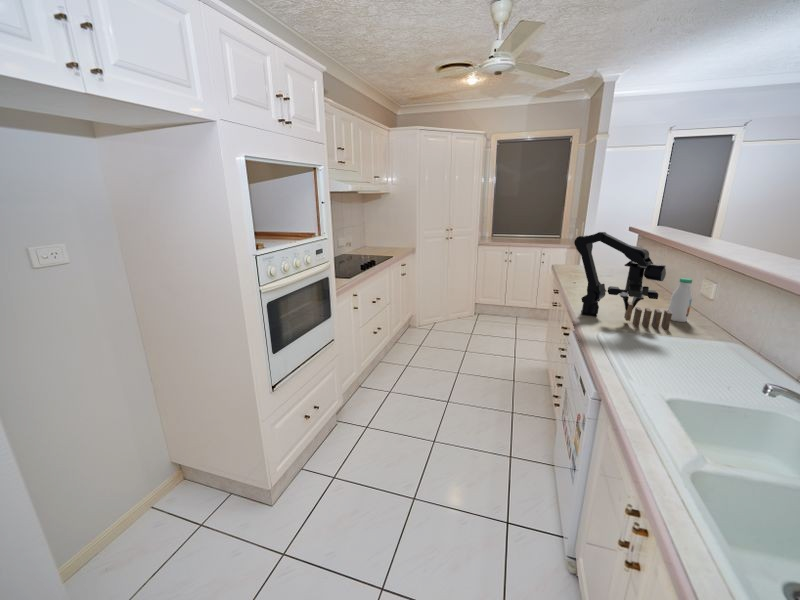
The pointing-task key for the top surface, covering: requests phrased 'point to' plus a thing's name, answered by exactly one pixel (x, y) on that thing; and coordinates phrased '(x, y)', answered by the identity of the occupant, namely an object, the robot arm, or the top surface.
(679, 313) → the milk bottle
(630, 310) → the domino
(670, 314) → the domino
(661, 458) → the top surface
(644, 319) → the domino
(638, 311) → the domino
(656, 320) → the domino
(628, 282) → the robot arm
